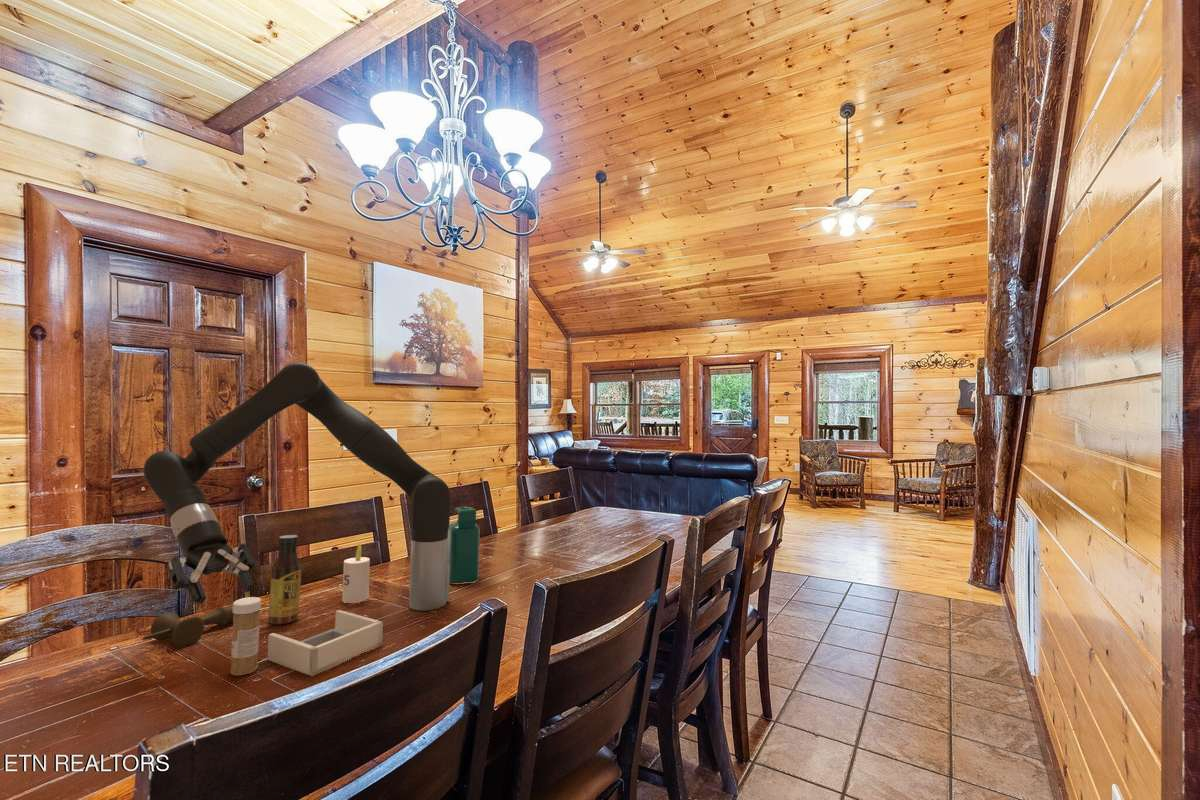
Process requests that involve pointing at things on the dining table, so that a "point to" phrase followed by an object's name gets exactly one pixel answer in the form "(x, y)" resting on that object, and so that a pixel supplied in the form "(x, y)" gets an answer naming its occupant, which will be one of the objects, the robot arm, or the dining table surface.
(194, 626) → the kendama
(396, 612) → the dining table surface
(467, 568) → the green bottle
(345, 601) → the candle
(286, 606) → the sauce bottle
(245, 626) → the sprinkles bottle
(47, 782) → the dining table surface
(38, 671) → the dining table surface
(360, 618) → the caddy
